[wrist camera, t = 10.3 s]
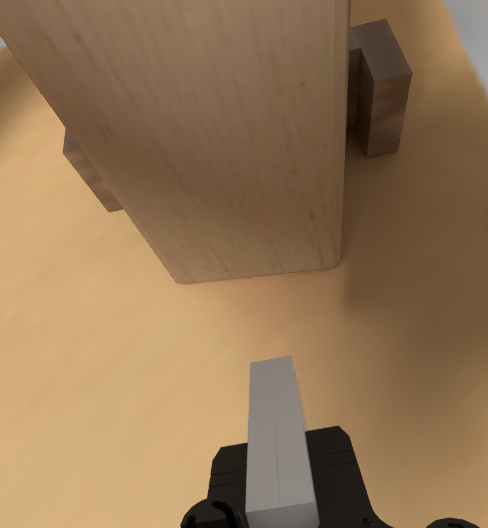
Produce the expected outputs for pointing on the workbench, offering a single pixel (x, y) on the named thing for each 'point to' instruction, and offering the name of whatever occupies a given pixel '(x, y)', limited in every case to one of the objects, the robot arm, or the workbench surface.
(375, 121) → the stop rail
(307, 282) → the workbench surface
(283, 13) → the wooden block
